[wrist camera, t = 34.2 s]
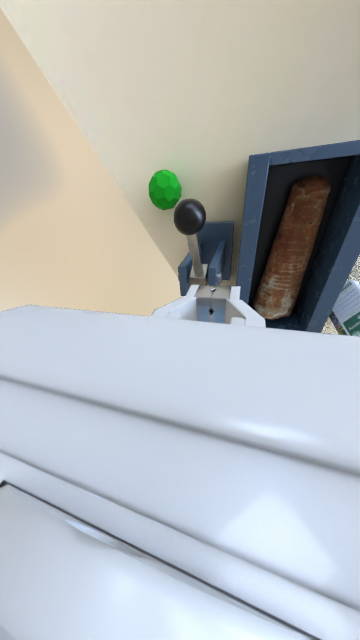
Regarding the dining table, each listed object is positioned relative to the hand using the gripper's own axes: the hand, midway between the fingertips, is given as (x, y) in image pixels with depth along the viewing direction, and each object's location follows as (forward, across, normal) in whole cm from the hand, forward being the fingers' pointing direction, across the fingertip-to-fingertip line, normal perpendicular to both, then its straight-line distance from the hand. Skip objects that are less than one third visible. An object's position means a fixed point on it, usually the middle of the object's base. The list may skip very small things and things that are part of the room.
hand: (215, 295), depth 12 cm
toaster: (+25, -8, +5) cm, 26 cm away
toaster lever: (+13, +4, 0) cm, 14 cm away
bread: (+22, -7, +5) cm, 24 cm away
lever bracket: (+25, +4, +5) cm, 25 cm away
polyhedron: (+25, +11, -5) cm, 28 cm away
